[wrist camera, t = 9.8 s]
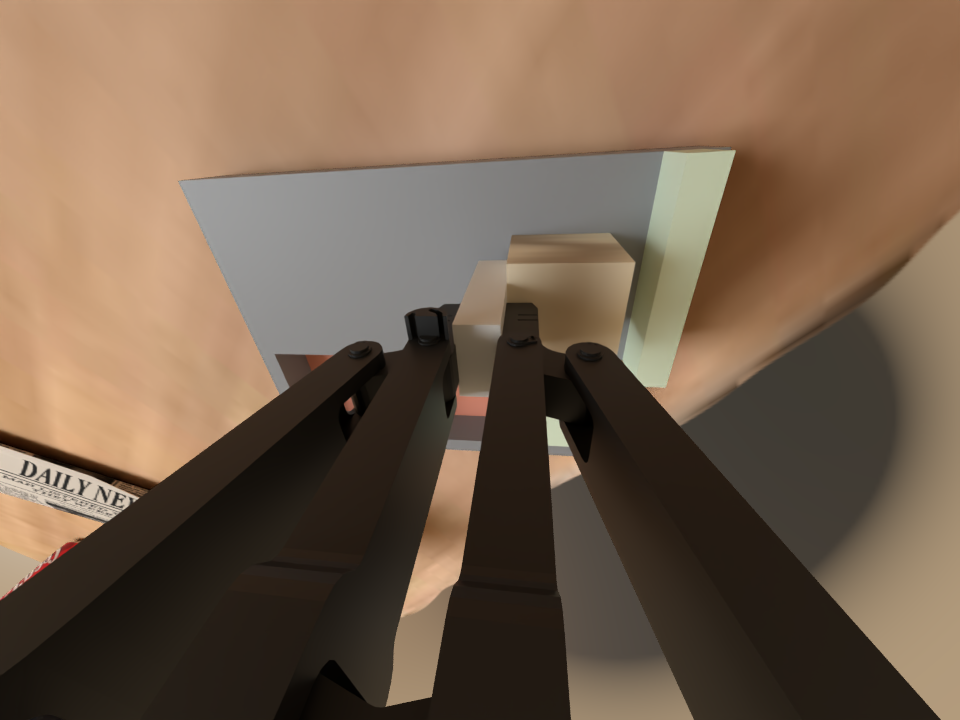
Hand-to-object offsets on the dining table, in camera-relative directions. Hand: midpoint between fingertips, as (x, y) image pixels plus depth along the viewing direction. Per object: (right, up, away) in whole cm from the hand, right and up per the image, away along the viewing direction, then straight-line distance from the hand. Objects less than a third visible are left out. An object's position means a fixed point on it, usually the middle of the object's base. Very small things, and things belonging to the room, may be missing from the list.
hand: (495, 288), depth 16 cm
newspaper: (-45, -19, +25) cm, 54 cm away
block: (+3, +1, +1) cm, 3 cm away
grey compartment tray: (-2, -1, +6) cm, 7 cm away
